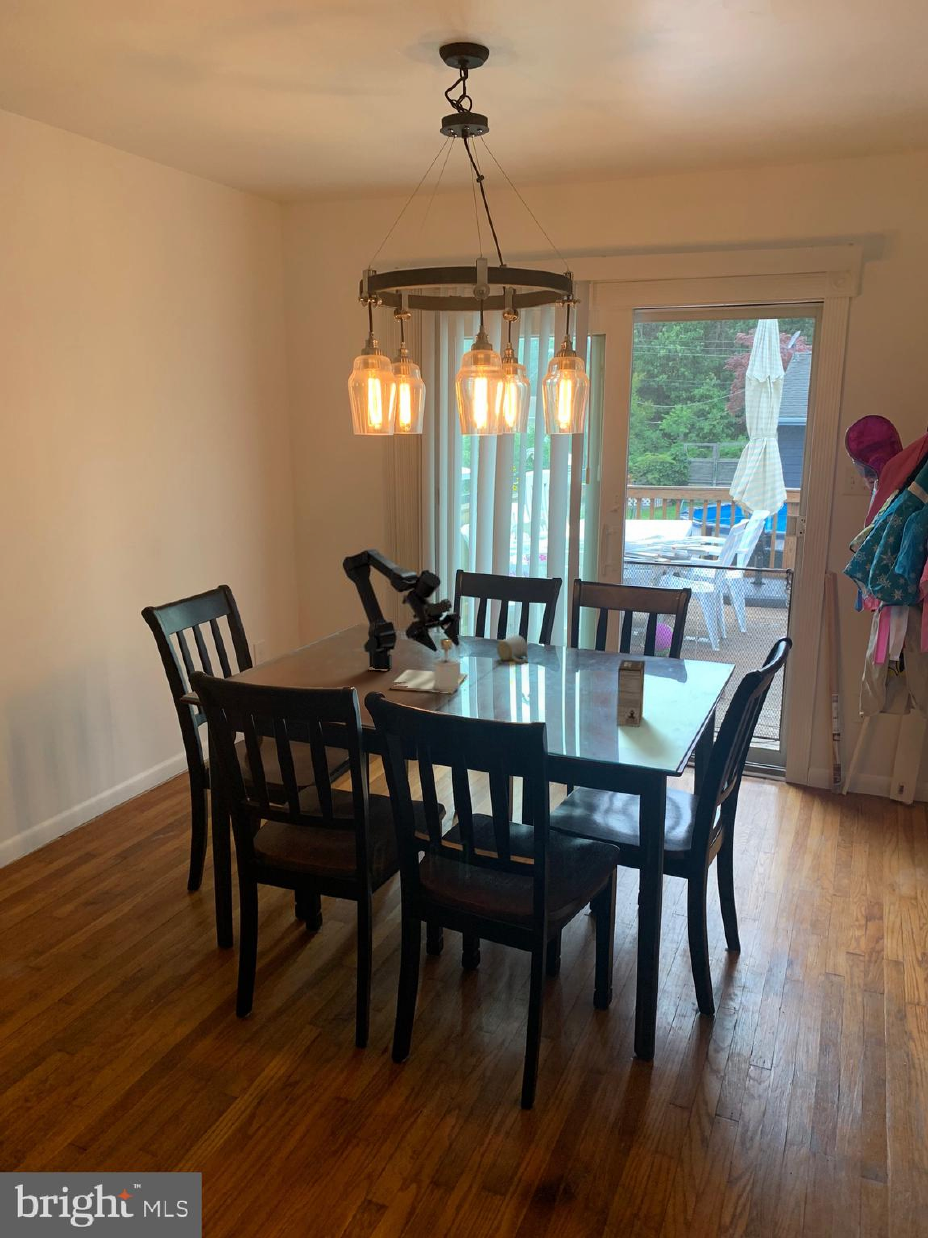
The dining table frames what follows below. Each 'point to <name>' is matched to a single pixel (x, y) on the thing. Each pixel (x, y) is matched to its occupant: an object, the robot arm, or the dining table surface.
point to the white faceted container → (446, 674)
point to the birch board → (422, 680)
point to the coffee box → (630, 693)
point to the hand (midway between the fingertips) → (447, 648)
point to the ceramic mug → (513, 649)
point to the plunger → (445, 647)
